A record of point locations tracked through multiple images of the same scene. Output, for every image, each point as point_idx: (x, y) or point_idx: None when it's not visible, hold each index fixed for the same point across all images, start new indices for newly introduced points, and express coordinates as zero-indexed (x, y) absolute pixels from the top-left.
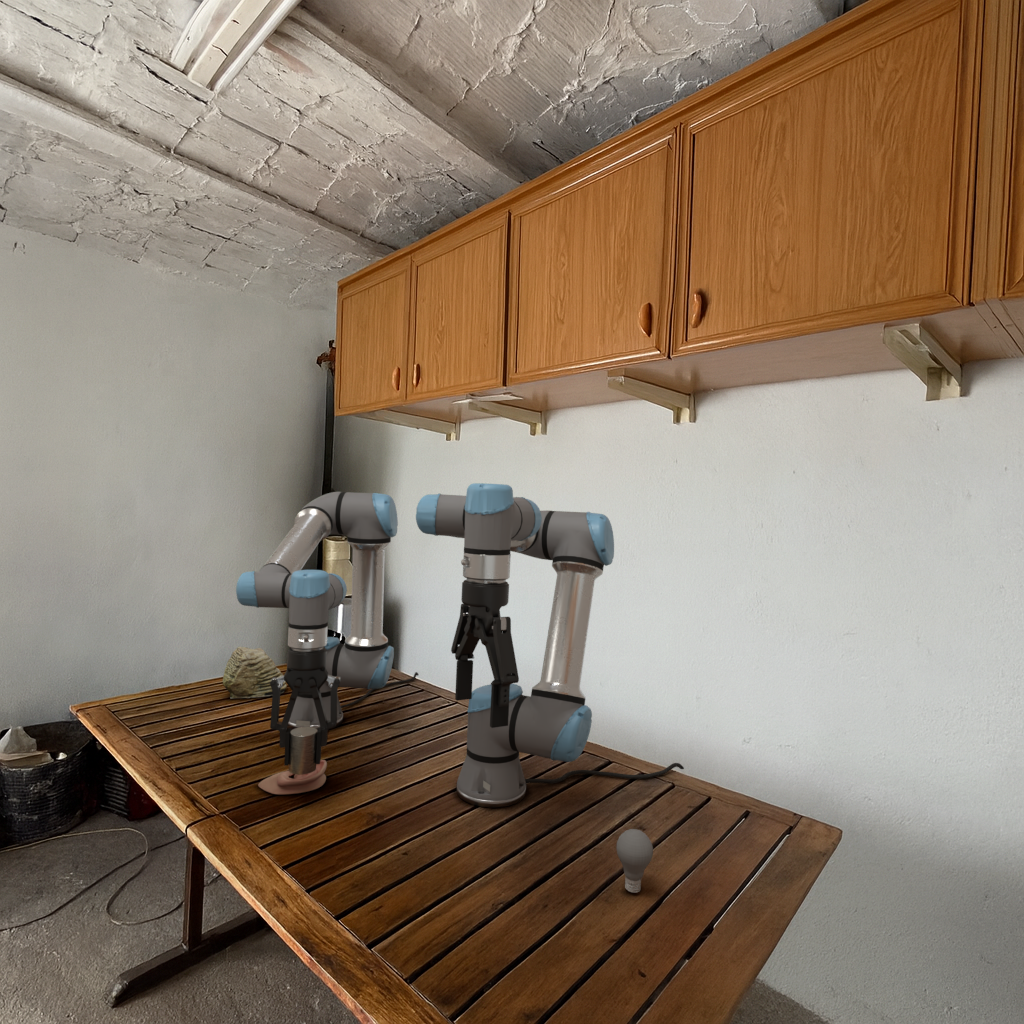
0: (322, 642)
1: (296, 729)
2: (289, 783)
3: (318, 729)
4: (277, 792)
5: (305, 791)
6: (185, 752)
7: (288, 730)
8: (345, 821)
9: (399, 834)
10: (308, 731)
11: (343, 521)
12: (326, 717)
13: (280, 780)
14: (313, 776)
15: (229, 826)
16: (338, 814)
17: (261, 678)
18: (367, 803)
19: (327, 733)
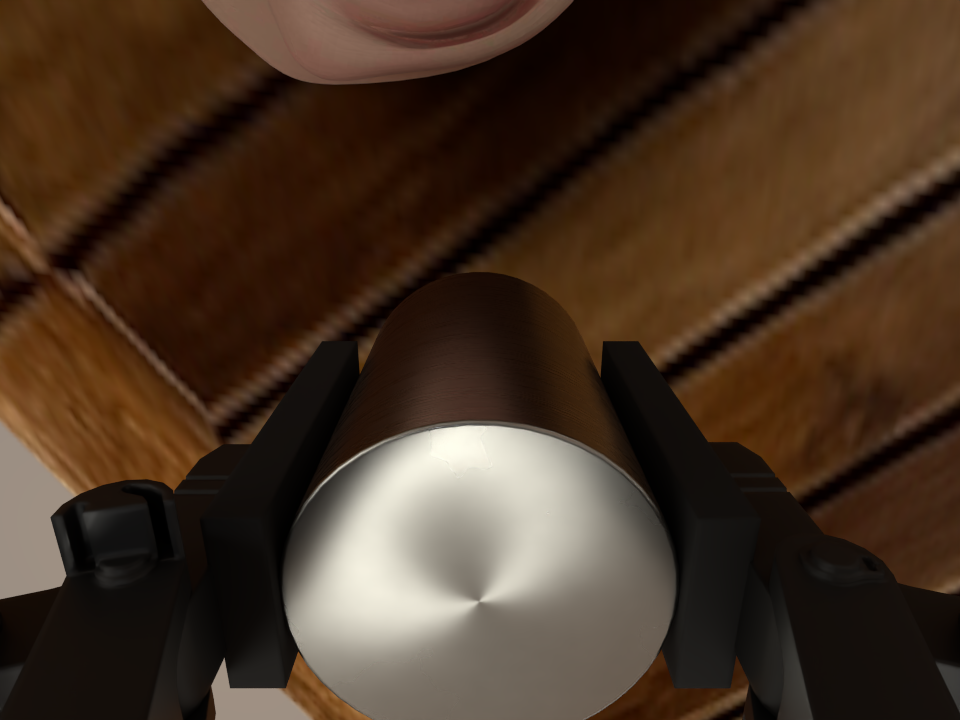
0: None
1: (353, 524)
2: (371, 76)
3: (697, 606)
4: (305, 76)
5: (484, 60)
6: None
7: (243, 601)
8: (706, 428)
9: (925, 558)
10: (545, 611)
11: None
12: (933, 662)
13: (298, 47)
14: (538, 14)
15: (158, 405)
16: (677, 357)
17: None
18: (848, 255)
19: (804, 522)
